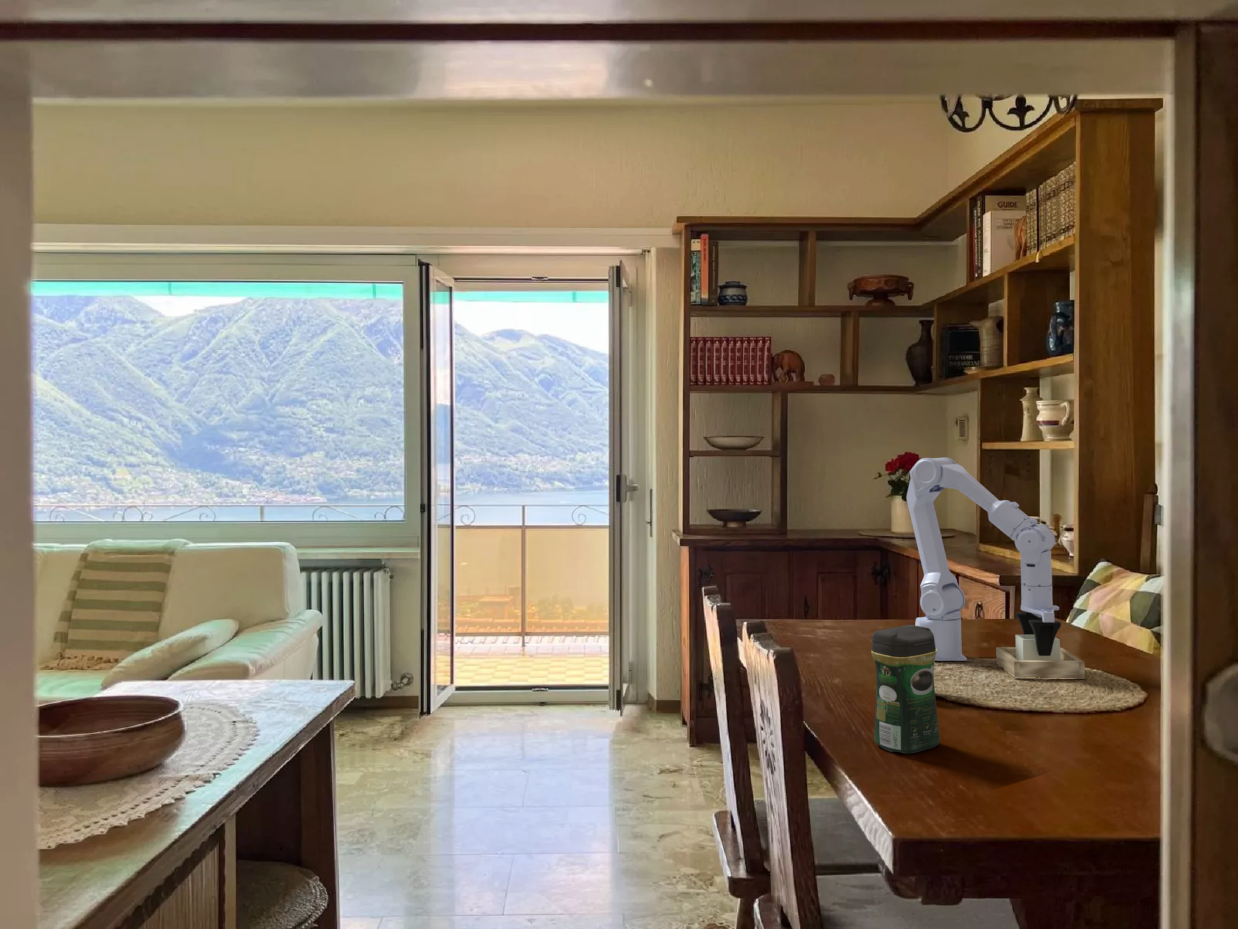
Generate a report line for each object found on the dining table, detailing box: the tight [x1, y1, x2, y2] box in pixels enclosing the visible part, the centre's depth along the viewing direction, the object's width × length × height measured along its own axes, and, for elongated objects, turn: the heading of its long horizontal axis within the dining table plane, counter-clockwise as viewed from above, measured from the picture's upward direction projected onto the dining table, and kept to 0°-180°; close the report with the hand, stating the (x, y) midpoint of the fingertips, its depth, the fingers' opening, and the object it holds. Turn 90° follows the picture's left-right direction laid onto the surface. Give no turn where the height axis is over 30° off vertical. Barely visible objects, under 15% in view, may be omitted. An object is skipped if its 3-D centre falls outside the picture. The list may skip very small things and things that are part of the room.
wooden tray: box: [995, 646, 1086, 679], centre depth 178 cm, size 13×13×4 cm
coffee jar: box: [870, 624, 941, 754], centre depth 136 cm, size 10×8×19 cm
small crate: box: [1014, 634, 1061, 661], centre depth 178 cm, size 7×5×6 cm
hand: (1038, 651), depth 178 cm, fingers open, 7 cm apart
